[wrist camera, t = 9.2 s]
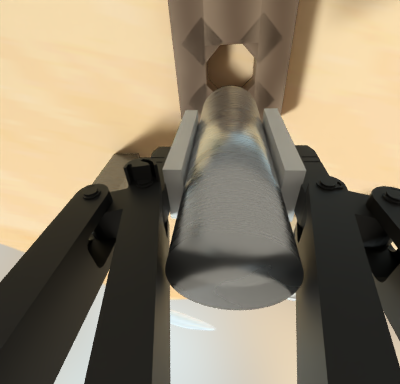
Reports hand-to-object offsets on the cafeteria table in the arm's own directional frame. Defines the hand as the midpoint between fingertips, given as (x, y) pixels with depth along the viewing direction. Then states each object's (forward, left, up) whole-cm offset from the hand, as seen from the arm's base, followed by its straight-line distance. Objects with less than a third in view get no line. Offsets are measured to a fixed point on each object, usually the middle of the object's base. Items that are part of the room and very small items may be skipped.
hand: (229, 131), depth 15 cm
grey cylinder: (0, 0, -3) cm, 3 cm away
